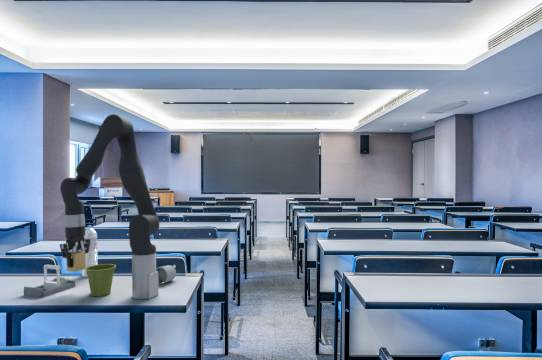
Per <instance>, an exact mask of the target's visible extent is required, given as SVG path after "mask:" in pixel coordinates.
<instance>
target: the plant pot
mask: <svg viewBox="0 0 542 360" xmlns="http://www.w3.org/2000/svg"><path fill="white" fill-rule="evenodd" d="M116 268H117V265H116V264H113V263H101V264H98V265H93V266H89V267H86V268H85V270H86V272H87V275H88V277H87V280H88V285H89V291H90V294H91V295H90V296H92V297H96V296H97V297H104V296H108V295H109V294H111V291H112V284H113V277H114V273H115V269H116Z"/></svg>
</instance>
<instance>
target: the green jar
mask: <svg viewBox="0 0 542 360" xmlns="http://www.w3.org/2000/svg"><path fill="white" fill-rule="evenodd" d="M68 280H69V278H67V277H64V276H61V277H60V286H62V285H66V284H68ZM49 281H51V282H57V277H55V278H53V279H50V280H49Z"/></svg>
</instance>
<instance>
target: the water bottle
mask: <svg viewBox="0 0 542 360" xmlns="http://www.w3.org/2000/svg"><path fill="white" fill-rule="evenodd" d="M86 227H87V228H85V236H84V238H85V239H90V246H89V252H88V253H86V254H85V260H86V267H89V266H93V265H99V264H98V263H99V262H98V261H99V260H98V258H99V257H98V233H97V231H96V230H95V229H93V228H92V225H91V224H89V225H87V226H86ZM85 250H86V248H85ZM81 275H82V276H81V277H82V278H88V275H87V272H86V270H85V269H83V270H81Z"/></svg>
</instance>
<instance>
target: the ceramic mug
mask: <svg viewBox="0 0 542 360" xmlns="http://www.w3.org/2000/svg"><path fill="white" fill-rule="evenodd" d="M156 271H158V285H164V284H166V283H169V282H171V281H173V280H174V279H175V278H176V276H177V271H176V268H175V267H174V266H173V265H170V264H169V265H163V266H159V267H156ZM162 282H164V283H162Z"/></svg>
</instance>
